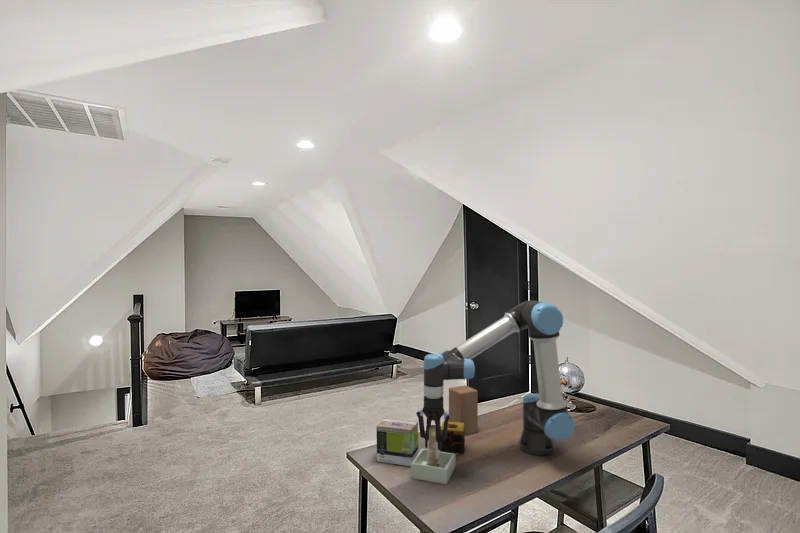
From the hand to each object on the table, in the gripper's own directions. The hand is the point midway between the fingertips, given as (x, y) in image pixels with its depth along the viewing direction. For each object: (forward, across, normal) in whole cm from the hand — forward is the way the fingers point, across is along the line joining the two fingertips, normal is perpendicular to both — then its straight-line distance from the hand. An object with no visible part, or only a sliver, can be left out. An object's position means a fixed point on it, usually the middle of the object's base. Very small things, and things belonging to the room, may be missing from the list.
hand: (433, 456), depth 165 cm
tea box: (+7, +17, -6) cm, 19 cm away
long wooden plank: (+3, 0, 0) cm, 3 cm away
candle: (+6, -2, -23) cm, 24 cm away
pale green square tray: (+6, 0, 0) cm, 6 cm away
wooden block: (+6, -2, -44) cm, 45 cm away
